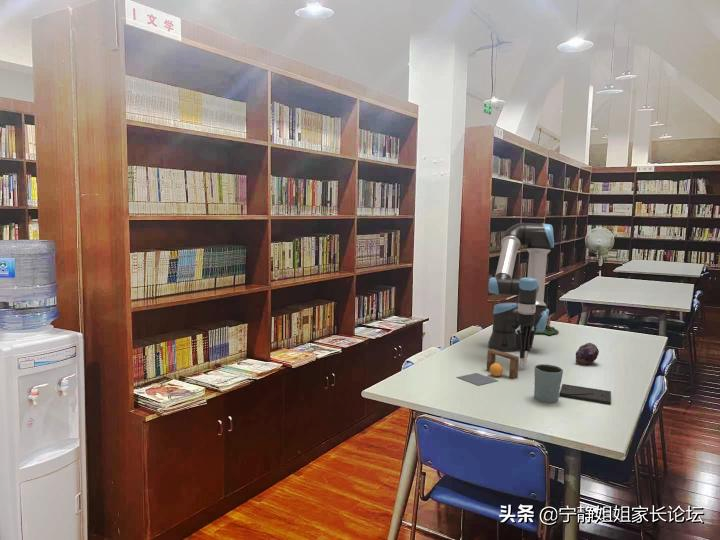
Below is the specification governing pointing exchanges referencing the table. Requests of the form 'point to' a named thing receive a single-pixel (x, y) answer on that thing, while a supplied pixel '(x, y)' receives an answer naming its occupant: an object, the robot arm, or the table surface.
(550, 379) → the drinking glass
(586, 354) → the rock
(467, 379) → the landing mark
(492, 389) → the table surface
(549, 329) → the bonsai tree
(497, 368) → the ball
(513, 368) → the bridge
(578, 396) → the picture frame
